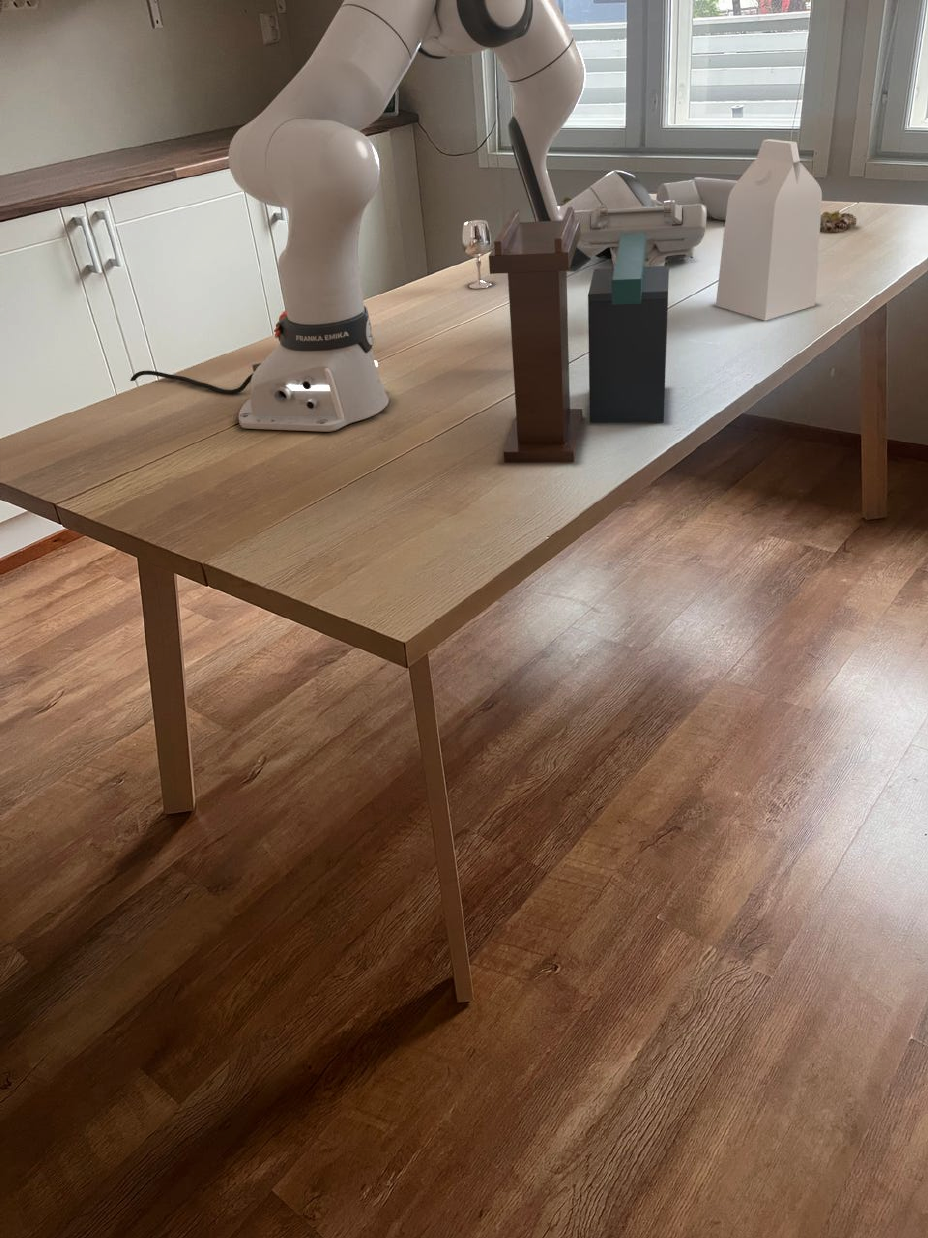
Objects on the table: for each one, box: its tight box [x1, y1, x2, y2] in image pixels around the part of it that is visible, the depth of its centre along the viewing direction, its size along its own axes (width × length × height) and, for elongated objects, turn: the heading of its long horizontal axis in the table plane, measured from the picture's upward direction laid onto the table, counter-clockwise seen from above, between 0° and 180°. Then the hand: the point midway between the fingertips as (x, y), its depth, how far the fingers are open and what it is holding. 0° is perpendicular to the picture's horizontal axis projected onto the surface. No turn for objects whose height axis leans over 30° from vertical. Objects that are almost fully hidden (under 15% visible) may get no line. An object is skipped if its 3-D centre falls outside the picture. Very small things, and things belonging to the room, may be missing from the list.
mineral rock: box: [820, 210, 858, 233], centre depth 205 cm, size 11×4×8 cm
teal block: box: [612, 233, 646, 305], centre depth 125 cm, size 23×4×3 cm, turn 169°
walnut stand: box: [488, 207, 584, 463], centre depth 120 cm, size 16×9×28 cm, turn 169°
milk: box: [715, 138, 823, 322], centre depth 159 cm, size 12×12×26 cm
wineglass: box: [461, 219, 492, 290], centre depth 189 cm, size 6×6×12 cm
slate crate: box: [587, 265, 670, 424], centre depth 130 cm, size 12×10×18 cm
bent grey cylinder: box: [655, 176, 738, 221], centre depth 219 cm, size 18×11×20 cm
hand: (635, 208), depth 135 cm, fingers open, 8 cm apart
